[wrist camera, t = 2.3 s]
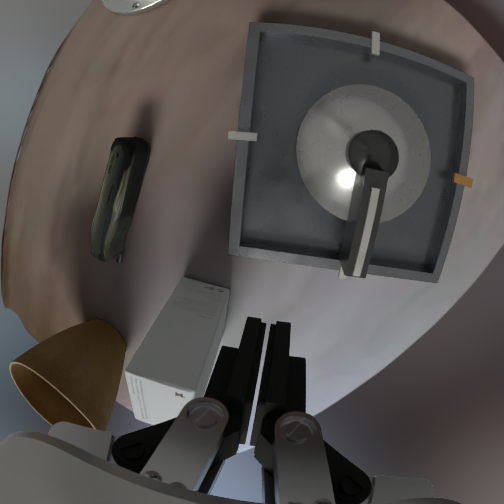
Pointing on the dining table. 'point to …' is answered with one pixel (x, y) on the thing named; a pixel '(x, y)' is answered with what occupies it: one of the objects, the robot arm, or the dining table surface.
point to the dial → (362, 163)
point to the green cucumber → (118, 197)
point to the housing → (285, 161)
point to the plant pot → (73, 374)
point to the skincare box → (177, 351)
